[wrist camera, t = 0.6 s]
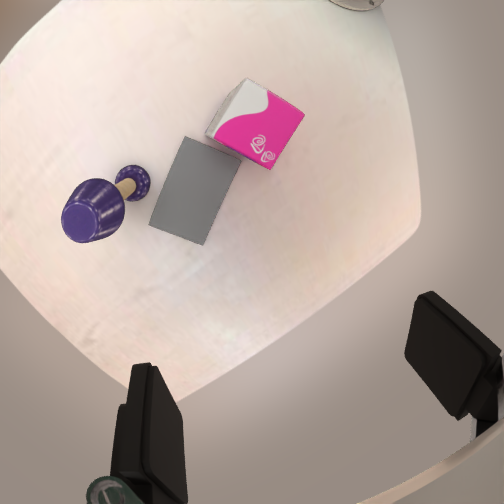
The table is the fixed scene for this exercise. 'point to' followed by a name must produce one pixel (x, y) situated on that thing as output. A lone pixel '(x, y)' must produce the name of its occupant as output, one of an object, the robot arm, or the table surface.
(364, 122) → the table surface
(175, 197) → the mat
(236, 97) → the supplement box
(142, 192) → the toy lamp
